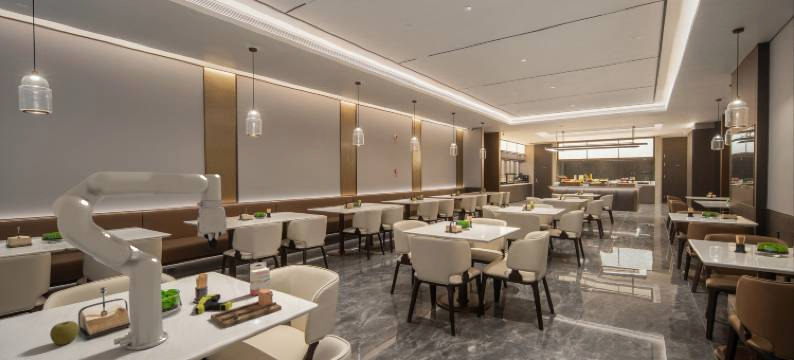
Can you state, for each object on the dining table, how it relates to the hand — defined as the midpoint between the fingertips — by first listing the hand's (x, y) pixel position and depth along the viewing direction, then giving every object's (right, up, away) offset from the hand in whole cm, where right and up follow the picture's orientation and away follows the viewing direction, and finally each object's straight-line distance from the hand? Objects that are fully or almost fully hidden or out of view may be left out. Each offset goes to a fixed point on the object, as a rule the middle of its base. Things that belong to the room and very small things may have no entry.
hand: (212, 249), depth 148 cm
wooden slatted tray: (+12, -29, +5) cm, 31 cm away
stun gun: (-7, -29, +17) cm, 35 cm away
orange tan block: (+19, -26, +10) cm, 34 cm away
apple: (-45, -31, -17) cm, 57 cm away
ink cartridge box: (+7, -28, +32) cm, 44 cm away
